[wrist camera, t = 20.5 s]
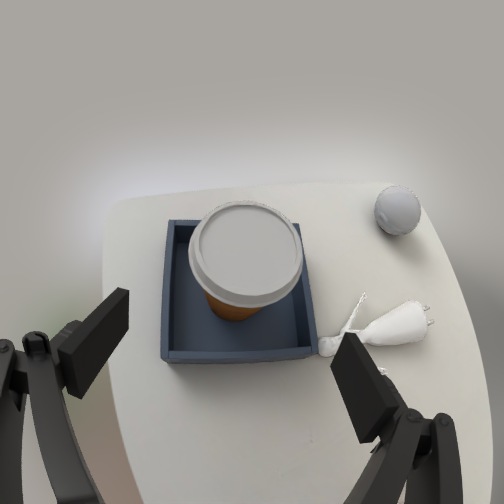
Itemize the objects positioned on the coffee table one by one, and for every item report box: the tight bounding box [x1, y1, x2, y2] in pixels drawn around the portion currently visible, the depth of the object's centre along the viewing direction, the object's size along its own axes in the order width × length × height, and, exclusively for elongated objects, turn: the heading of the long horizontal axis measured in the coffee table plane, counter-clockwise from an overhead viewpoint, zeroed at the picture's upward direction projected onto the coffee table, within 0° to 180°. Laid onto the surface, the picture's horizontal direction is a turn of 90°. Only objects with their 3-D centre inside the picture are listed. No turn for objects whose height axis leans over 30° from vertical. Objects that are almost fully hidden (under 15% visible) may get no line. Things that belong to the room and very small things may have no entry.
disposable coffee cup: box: [188, 201, 303, 322], centre depth 27 cm, size 10×10×12 cm
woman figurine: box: [318, 291, 434, 375], centre depth 31 cm, size 12×4×18 cm
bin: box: [161, 220, 319, 364], centre depth 30 cm, size 16×16×5 cm
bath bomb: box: [374, 186, 421, 236], centre depth 39 cm, size 8×8×8 cm
